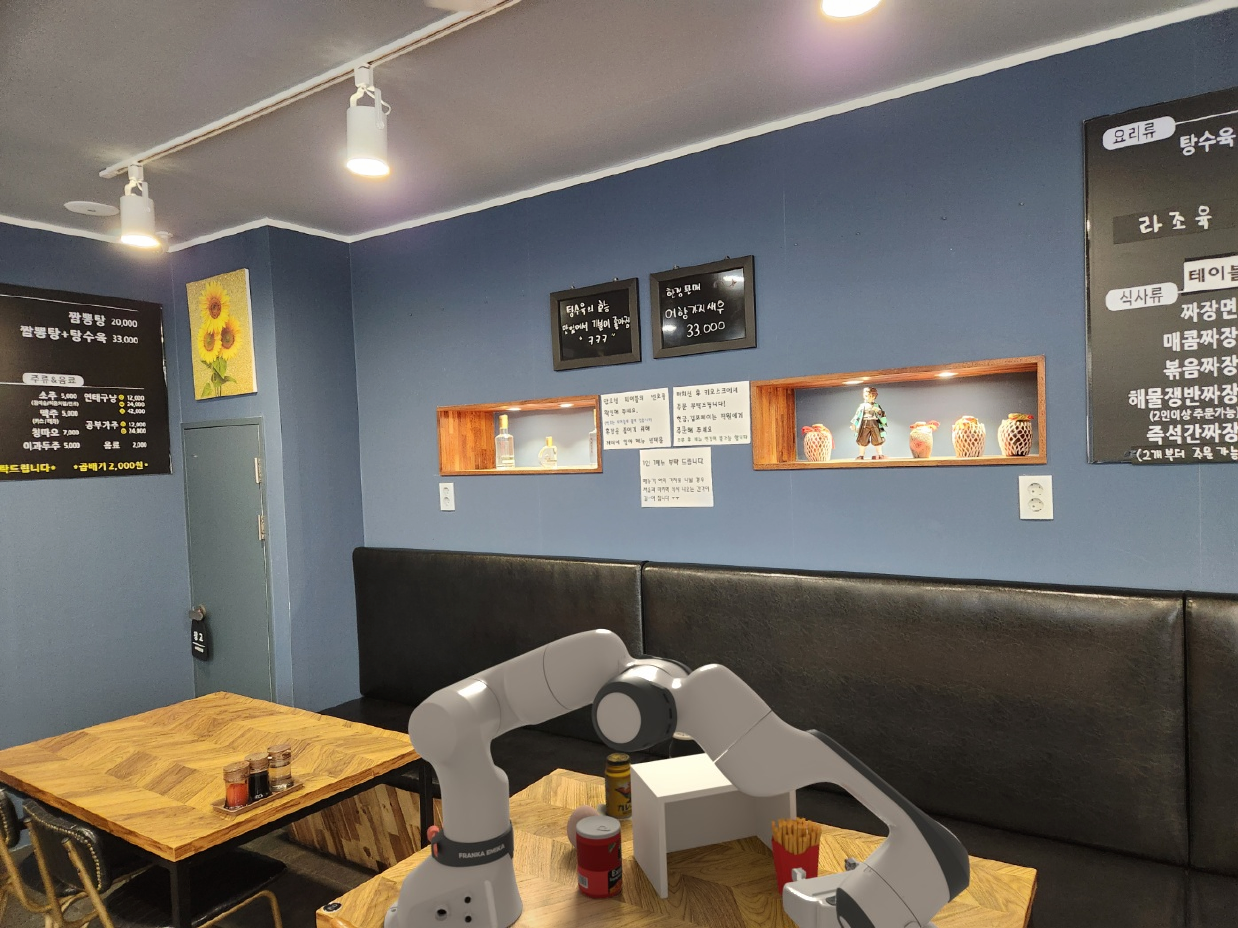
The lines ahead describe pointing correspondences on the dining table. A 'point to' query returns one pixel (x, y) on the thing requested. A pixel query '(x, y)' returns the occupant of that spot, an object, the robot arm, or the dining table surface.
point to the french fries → (795, 849)
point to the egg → (575, 817)
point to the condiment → (617, 788)
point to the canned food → (599, 856)
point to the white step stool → (694, 811)
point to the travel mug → (684, 746)
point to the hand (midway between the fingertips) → (822, 867)
